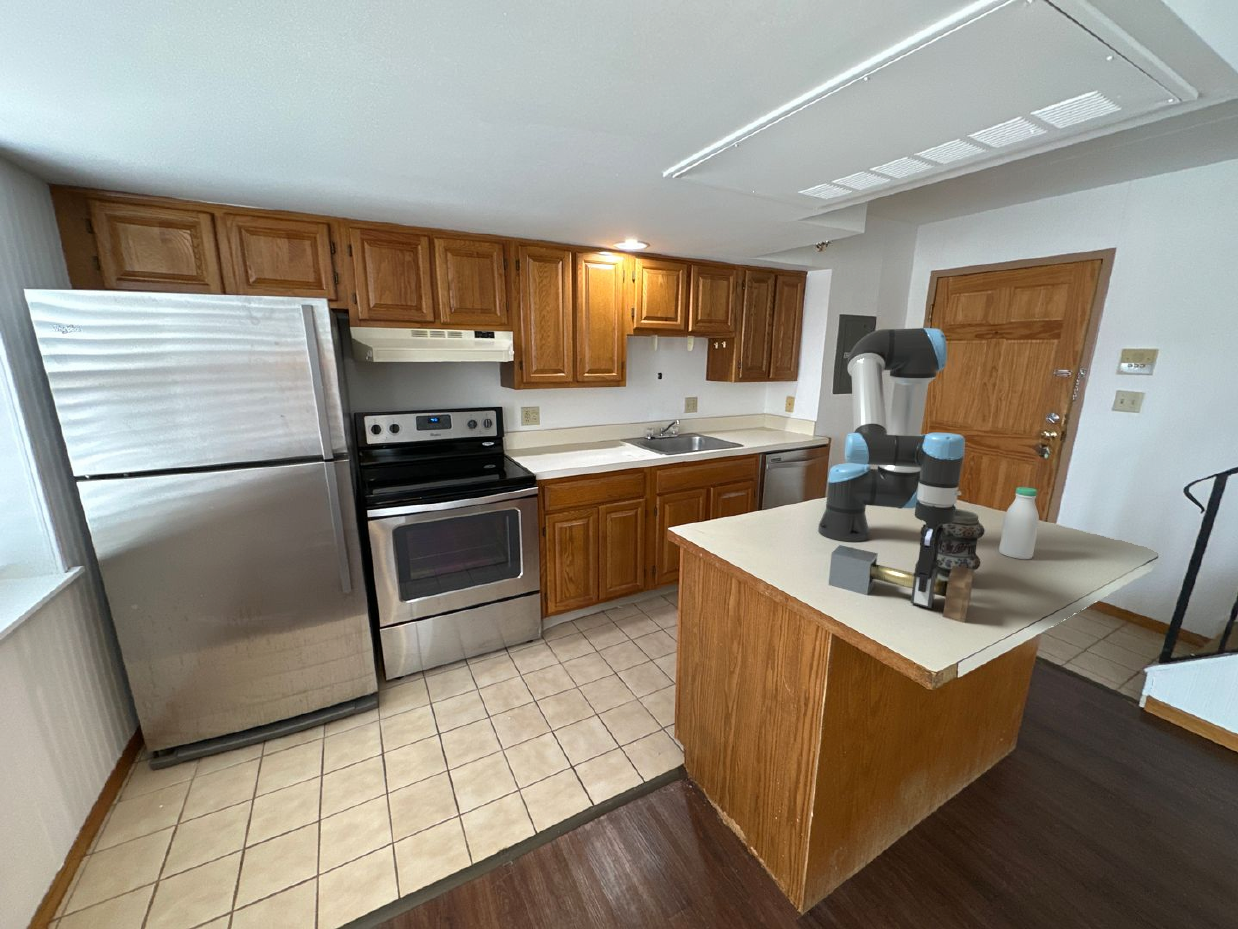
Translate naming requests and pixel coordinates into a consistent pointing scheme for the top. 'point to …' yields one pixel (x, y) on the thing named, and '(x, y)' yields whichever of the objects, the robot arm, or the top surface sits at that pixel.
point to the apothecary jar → (959, 543)
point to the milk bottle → (1020, 525)
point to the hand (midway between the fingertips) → (922, 598)
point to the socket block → (958, 593)
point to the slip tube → (910, 580)
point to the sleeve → (852, 569)
